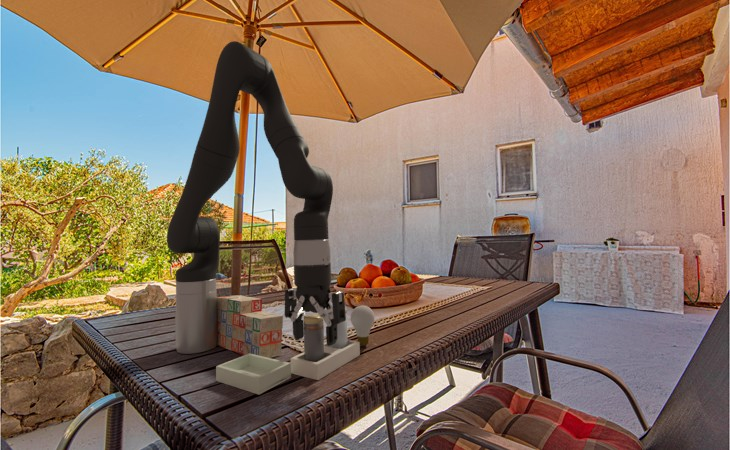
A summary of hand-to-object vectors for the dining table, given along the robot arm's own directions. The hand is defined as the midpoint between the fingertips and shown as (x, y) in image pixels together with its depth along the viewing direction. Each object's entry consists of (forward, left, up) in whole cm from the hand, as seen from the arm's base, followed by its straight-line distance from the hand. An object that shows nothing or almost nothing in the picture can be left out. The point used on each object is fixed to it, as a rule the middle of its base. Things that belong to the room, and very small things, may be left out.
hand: (314, 341), depth 69 cm
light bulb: (+1, +17, -6) cm, 18 cm away
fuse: (0, +8, -6) cm, 10 cm away
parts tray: (-8, -9, -6) cm, 13 cm away
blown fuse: (0, 0, -6) cm, 6 cm away
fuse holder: (0, +4, -6) cm, 7 cm away
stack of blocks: (-24, +2, -6) cm, 25 cm away
